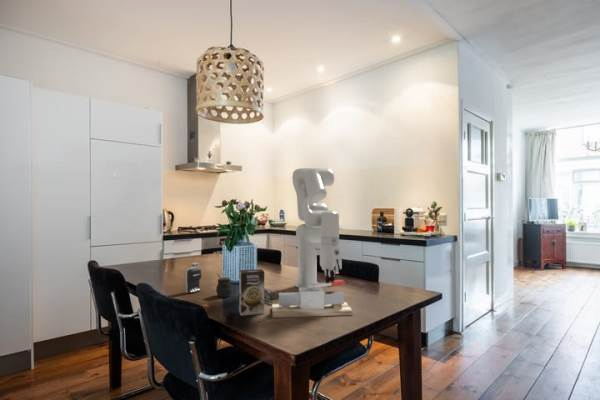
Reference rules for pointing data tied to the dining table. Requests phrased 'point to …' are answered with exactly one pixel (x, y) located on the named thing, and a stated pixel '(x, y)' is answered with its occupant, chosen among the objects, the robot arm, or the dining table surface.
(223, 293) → the mate gourd
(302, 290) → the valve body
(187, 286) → the battery charger
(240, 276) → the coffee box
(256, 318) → the dining table surface
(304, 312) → the valve board
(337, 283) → the lever
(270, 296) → the walkie-talkie
